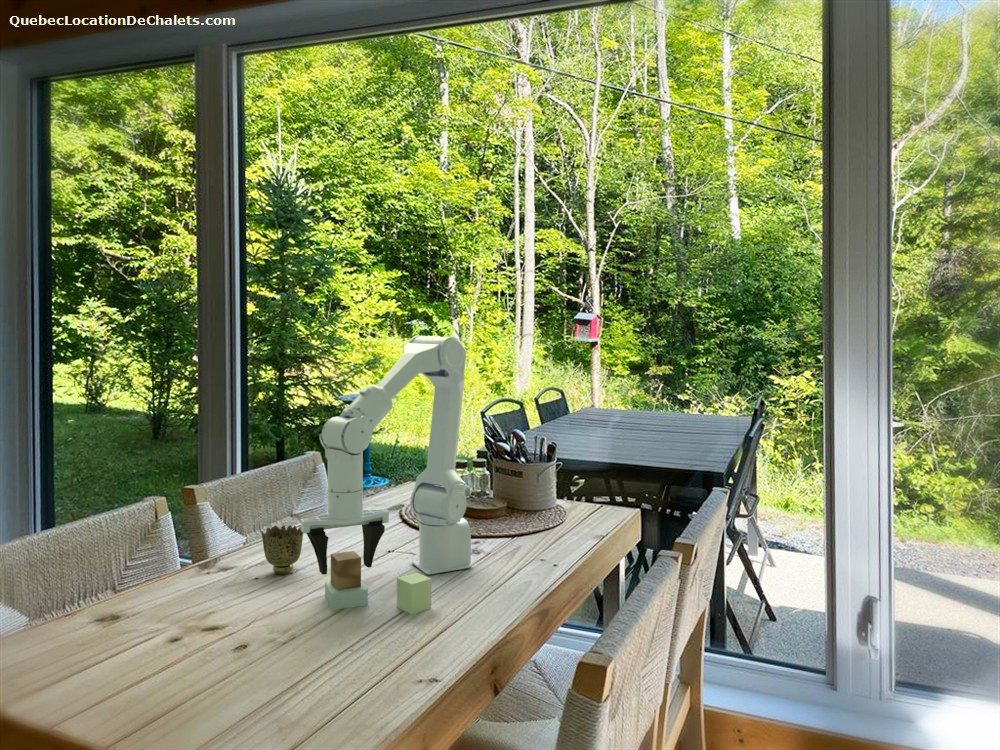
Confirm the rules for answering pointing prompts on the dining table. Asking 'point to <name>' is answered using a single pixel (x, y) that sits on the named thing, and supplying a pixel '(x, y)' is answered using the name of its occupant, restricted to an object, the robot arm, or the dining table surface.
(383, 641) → the dining table surface
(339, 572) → the walnut block
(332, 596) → the mint green base block
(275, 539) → the cup
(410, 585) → the sage block
